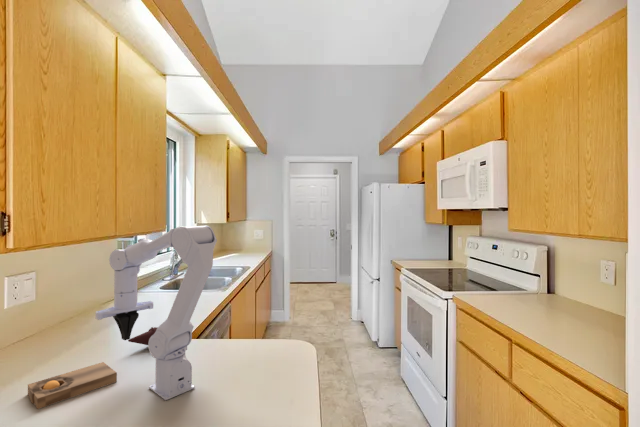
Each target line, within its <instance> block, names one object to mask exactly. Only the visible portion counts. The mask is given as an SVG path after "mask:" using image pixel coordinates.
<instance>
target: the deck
mask: <svg viewBox="0 0 640 427" xmlns="http://www.w3.org/2000/svg"><path fill="white" fill-rule="evenodd" d="M117 373H118V372H117V371H116V370H114V368H111V367H110V366H109V365H108V364H107V363H105V362H104V361H101V362H99V363H95V364H92V365H89V366H85V367H82V368H77V369H75V370H72V371H69V372H66V373H62V374H58V375H55V376H51V377H48V378H45V379H42V380H38V381H36V382H35V381H34V382H32V383H28V384H27V396H29V402H31V404H32V405H34V406H35V408H36V409H37V410H39V409H43V408H45V407H48V406H51V405H53V404H56V403H57V404H58V403H60V402H62V401H65V400H68V399H71V398H73V397H74V398H75V397H76V396H77V397H78V396H79V395H82V394H85V393H88V392H91V391H94V390H98V389H99V388H102V387H105V386H108V385H111V384H115V383H116V382H117V381H118V377H117V376H118V374H117ZM52 380H55V381H58V382H59V384H60V387H57V388H54V389H49V390H43V387H44V385H45V384H46V383H47V382H49V381H52Z"/></svg>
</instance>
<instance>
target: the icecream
mask: <svg viewBox="0 0 640 427" xmlns="http://www.w3.org/2000/svg"><path fill="white" fill-rule="evenodd" d="M158 327H159V326H158ZM158 327H156V326H155V327H154V326H152V327H150V328H149V329H148V330H147V331H146V332H143V333H141V334H138V335H136V336H134V337H132V338H131V337H130V339H128V340H127V341H128V342H129V343H135V344H140V345H145V346H148V342H149V339H150V337H151V336H152V335H153V334H154V333H155V332H156V330H157V328H158Z"/></svg>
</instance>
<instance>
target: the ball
mask: <svg viewBox="0 0 640 427" xmlns="http://www.w3.org/2000/svg"><path fill="white" fill-rule="evenodd" d="M57 387H60V384H59V382H58V381H55V380H52V381H49V382H47V383H46V384H45V385H44V387H43V390H49V389H54V388H57Z"/></svg>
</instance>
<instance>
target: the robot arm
mask: <svg viewBox="0 0 640 427" xmlns="http://www.w3.org/2000/svg"><path fill="white" fill-rule="evenodd" d="M217 242H218V239H217V237H216V234H215V232H214V230H213V228H212V227H211V226H210V225H208V224H207V225H206V224H204V225H203V224H202V225H197V226H182V225H181V226H178V227H177V226H176V227H175V228H171V229H170V230H169V231H168V232H165V233H164V234H162V235H160V236H158V237H156V238H154V239H152V240H151V239H148V238H144V237H143V238H139V239H137V242H136V243H133V244H128V245H126V248H122V249H119V248H118V249H117V248H116V249H114V250H113V251H111V252H110V255H109V259H108V260H109V265H110V268H111V269H112V270H113V271H114V274H113V275H114V276H113V277H114V278H113V280H114V285H113V286H114V291H113V292H114V296H113V299H114V302H113V304H114V305H113V306H112V307H108V308H105V309H101V310H96V311H95V319H96V320H97V321H100V320H103V319H106V318H111V317H113V320H114V321H115V322H116V325H117V327H118V329H119V331H120V336H121V340H124V341H128V340H129V339H131V334H132V331H133V328H134V326H135V323H136V322H137V320H138V318H139V314H140V313H139V312H140V311H144V310H147V309H148V310H151V309H154V301H151V300H147V301H141V302H138V279H139V278H138V274H139V273H140V271H141V270H140V268H141V265H142V264H143V263H145V262H148V261H151V260H154V259H155V258H156V257H157V256H158V252H161V251H162V250H166V249H169V248H173V249H174V250H175V252H176V253H177V255H178V256H179V258H180V259H181V261H182V263H184V264H185V265H187V269H186V271H185V274H184V277H183V279H182V281H181V284H180V286H179V289H178V291H177V294H176V296H175V299H174V301H173V303H172V305H171V309H170V311H169V314H168V316H167V318H165V320H164V321H163V322H162V323H161V324H159V326H158V328H157V330H156V332H155V333H154V334H153V335H152V336H151V337H150V339H149V342H148V345H147V347H148V351H149V353H150V354H151V356H152V357H153V358H154V359H155V383H153V384H150V385H149V386H148V388H149V389H150V390H151V391H153V392H154V393H155V394H157V395H158V396H159V397H161V398H162V399H163V400H164V401H167V400H168V401H169V400H170V399H172V398H174V397H177V396H179V395H182V394H184V393H186V392H188V391H191V390H194V389H195V387H196V386H195V385H193V383H192V381H193V380H192V379H193V377H192V376H193V375H192V374H193V371H192V370H193V367H192V363H191V361H190V360H188V358H187V355H186V351H187V350H188V346H189V345H190V344H191V343H192V338H193V334H192V333H193V329H194V327H195V326H194V325H193V323H192V322H191V319H192V317H193V314H194V312H195V309H196V308H197V304H198V302H199V299H200V297H201V296H202V292H203V290H204V288H205V286H206V283H207V280H208V279H209V276H210V273H211V270H212V269H213V265H214V249H215V246H216V244H217Z"/></svg>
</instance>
